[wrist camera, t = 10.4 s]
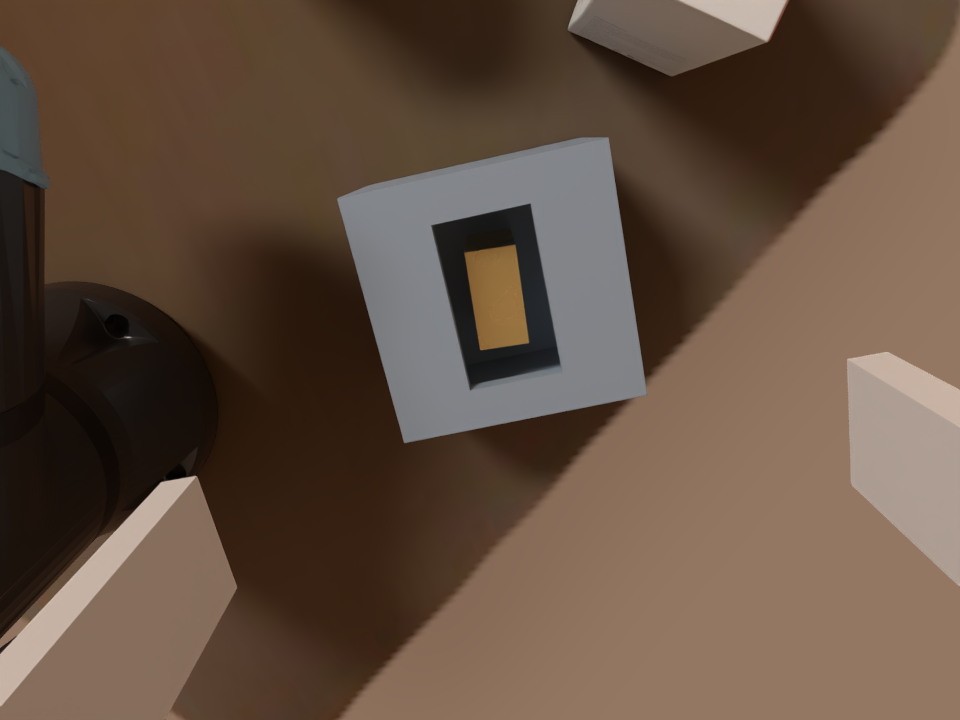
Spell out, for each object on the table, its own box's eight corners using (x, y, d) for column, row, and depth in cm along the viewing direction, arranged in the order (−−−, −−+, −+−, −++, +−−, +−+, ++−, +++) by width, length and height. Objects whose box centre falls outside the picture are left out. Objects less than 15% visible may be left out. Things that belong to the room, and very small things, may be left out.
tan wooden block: (480, 320, 40) (480, 350, 35) (466, 235, 39) (464, 252, 33) (522, 313, 40) (529, 343, 34) (510, 229, 39) (515, 244, 33)
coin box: (420, 381, 42) (404, 443, 34) (369, 185, 38) (337, 198, 30) (613, 341, 41) (647, 395, 33) (579, 137, 38) (608, 137, 29)
